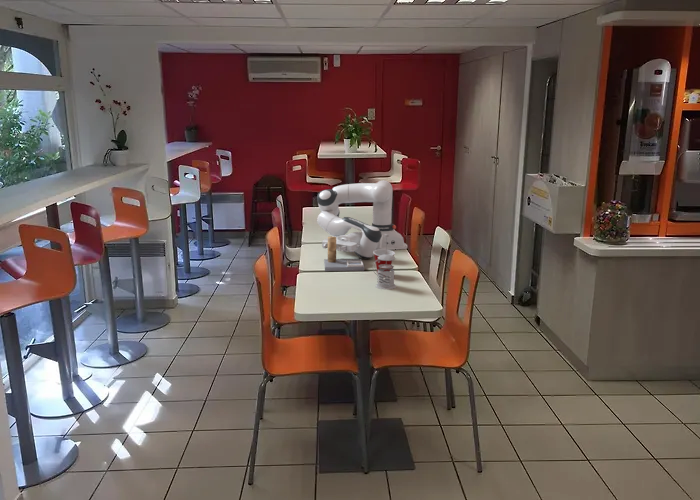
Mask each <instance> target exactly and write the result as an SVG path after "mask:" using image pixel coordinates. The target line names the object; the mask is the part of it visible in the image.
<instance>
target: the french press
mask: <svg viewBox="0 0 700 500" xmlns="http://www.w3.org/2000/svg"><path fill="white" fill-rule="evenodd" d="M385 237H389V235H388V234H385ZM395 259H396V258H395V256H392V255H389V254H387V239H386V254H383V255H380V256H379V257H378V260H382V261H386V262H387V261H392V262H393V261H394V260H395ZM376 261H377V260H376ZM379 262H380V261H379ZM379 262H378V263H379ZM372 265H373V269H372V271H373V272H374V274H375V275H376V276H377V284H375V288H377V289H380V290H393V289H396V288H397V285H396V284H395V266H394V265H393V264H391V265H388V264H384V265H383V264H382V265H379V269H378V274H377V269H376V262H375V261H374V262H373V263H372ZM387 269H388V270H390V271H384V270H387ZM383 271H384V272H383ZM384 275H385V276H384Z"/></svg>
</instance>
